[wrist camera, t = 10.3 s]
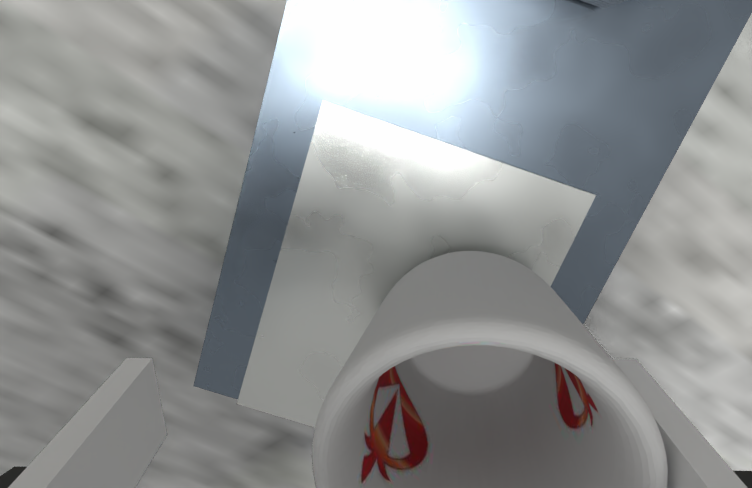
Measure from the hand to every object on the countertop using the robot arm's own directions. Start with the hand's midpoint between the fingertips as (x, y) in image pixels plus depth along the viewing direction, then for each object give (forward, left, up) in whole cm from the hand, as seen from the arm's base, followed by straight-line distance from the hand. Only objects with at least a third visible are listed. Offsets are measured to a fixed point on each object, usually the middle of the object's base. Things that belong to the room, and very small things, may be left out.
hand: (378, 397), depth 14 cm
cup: (+4, 0, -5) cm, 6 cm away
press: (0, +7, -8) cm, 10 cm away
